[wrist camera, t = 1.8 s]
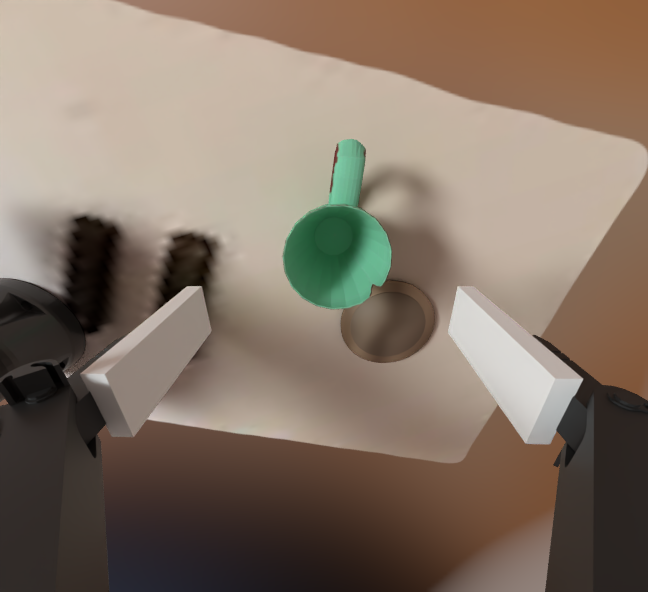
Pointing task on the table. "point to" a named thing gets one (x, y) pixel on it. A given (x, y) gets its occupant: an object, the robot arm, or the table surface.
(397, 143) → the table surface
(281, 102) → the table surface
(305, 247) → the mug
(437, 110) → the table surface
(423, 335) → the plate
